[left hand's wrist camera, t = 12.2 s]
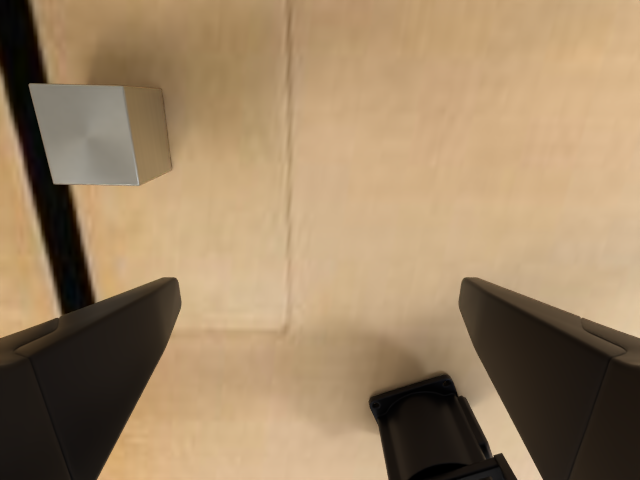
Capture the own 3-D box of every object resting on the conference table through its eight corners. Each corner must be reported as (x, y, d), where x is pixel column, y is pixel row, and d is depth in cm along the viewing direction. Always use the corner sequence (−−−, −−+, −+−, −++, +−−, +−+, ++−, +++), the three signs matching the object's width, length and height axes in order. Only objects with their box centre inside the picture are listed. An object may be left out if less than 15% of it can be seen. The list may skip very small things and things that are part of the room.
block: (162, 88, 19) (123, 85, 16) (172, 170, 21) (139, 186, 17) (85, 86, 19) (27, 83, 16) (101, 169, 21) (52, 184, 17)
